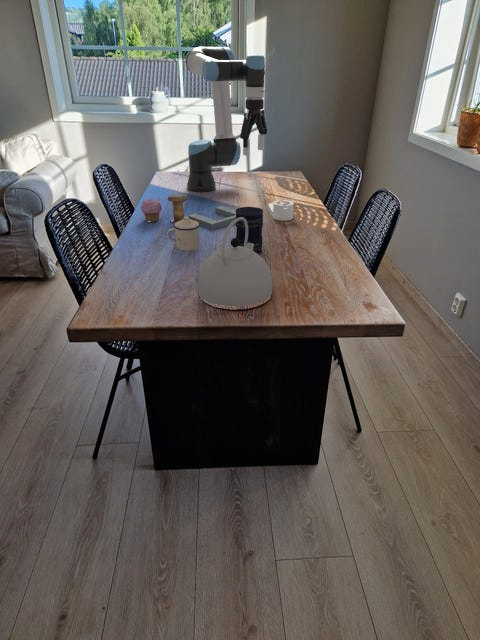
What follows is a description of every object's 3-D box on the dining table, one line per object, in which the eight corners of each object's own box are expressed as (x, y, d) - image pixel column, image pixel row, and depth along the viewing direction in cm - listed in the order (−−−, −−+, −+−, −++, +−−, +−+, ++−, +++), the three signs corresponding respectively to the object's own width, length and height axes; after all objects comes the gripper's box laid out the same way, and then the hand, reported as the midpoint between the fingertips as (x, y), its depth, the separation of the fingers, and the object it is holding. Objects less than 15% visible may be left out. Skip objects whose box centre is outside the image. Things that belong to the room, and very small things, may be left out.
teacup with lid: (201, 243, 169) (200, 213, 164) (199, 252, 162) (197, 221, 156) (170, 242, 170) (167, 213, 164) (166, 252, 162) (163, 221, 156)
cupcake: (141, 220, 193) (138, 197, 187) (161, 218, 195) (159, 195, 190) (144, 226, 185) (141, 203, 180) (164, 224, 188) (162, 201, 182)
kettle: (220, 268, 150) (218, 202, 138) (284, 280, 142) (288, 211, 131) (184, 301, 130) (179, 227, 118) (256, 316, 122) (258, 238, 111)
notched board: (188, 221, 192) (187, 215, 190) (222, 211, 204) (222, 205, 202) (212, 230, 182) (212, 224, 181) (246, 219, 194) (246, 213, 193)
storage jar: (243, 257, 157) (243, 216, 150) (230, 248, 165) (230, 209, 157) (267, 253, 161) (268, 212, 154) (254, 244, 169) (255, 205, 161)
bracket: (294, 220, 193) (295, 205, 190) (275, 221, 192) (275, 206, 189) (284, 207, 210) (285, 192, 207) (266, 207, 210) (267, 193, 206)
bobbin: (166, 222, 190) (163, 196, 184) (180, 218, 195) (179, 193, 189) (177, 227, 185) (175, 200, 179) (192, 222, 190) (191, 197, 184)
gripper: (248, 101, 172) (247, 158, 183) (275, 96, 190) (273, 148, 201) (231, 100, 175) (231, 156, 186) (260, 95, 194) (259, 147, 205)
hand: (253, 152), depth 194 cm, fingers open, 13 cm apart
